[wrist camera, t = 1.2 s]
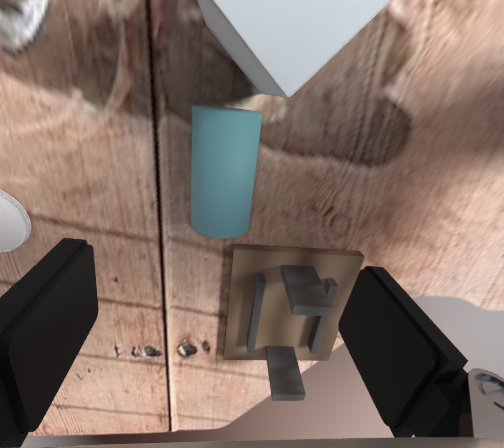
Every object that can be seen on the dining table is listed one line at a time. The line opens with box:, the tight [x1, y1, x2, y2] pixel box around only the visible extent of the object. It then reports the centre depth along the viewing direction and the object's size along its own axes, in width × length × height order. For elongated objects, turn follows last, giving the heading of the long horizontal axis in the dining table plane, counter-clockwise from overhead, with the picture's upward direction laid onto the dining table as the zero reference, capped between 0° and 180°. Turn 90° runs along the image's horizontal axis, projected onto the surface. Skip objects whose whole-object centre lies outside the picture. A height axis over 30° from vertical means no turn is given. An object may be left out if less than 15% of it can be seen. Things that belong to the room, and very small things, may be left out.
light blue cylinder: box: [191, 105, 262, 238], centre depth 26 cm, size 11×6×6 cm, turn 174°
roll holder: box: [224, 244, 364, 401], centre depth 34 cm, size 16×19×8 cm
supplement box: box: [198, 0, 391, 98], centre depth 18 cm, size 7×7×13 cm
